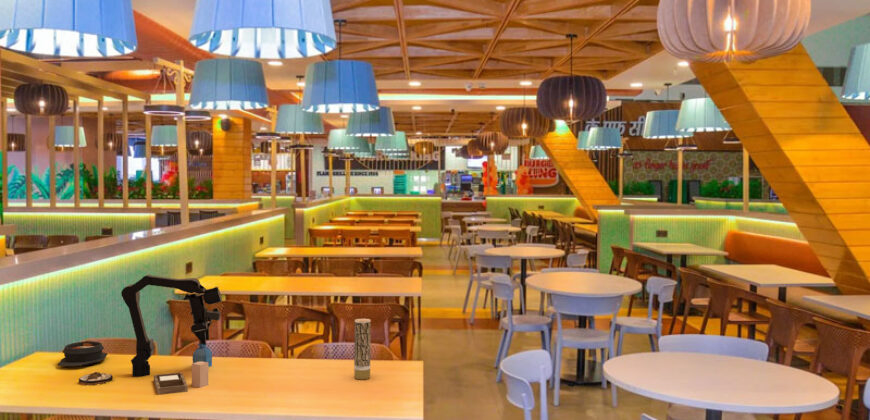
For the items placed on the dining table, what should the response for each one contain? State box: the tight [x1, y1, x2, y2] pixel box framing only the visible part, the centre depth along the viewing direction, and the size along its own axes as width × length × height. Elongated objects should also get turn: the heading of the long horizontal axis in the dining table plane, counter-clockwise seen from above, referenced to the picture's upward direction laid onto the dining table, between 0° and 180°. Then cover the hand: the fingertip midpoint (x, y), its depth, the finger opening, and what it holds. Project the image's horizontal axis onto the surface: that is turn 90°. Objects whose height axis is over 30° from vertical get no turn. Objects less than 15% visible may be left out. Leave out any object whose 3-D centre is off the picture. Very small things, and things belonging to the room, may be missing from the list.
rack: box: [153, 371, 189, 396], centre depth 285 cm, size 21×11×3 cm, turn 25°
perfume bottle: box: [192, 340, 213, 368], centre depth 317 cm, size 6×6×12 cm
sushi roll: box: [78, 371, 113, 386], centre depth 293 cm, size 15×15×4 cm
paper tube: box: [353, 318, 372, 381], centre depth 303 cm, size 7×7×25 cm
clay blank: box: [191, 361, 209, 389], centre depth 286 cm, size 4×4×10 cm
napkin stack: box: [159, 375, 179, 381], centre depth 289 cm, size 7×7×2 cm
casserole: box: [57, 340, 108, 367], centre depth 322 cm, size 25×19×8 cm
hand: (206, 342), depth 305 cm, fingers open, 9 cm apart
